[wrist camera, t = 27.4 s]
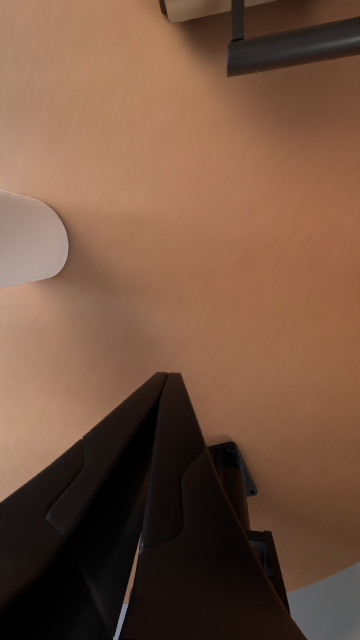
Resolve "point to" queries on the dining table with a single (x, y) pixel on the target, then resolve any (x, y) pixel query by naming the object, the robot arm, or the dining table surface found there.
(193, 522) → the robot arm
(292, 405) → the dining table surface
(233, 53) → the drawer
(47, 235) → the can
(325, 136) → the dining table surface
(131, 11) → the dining table surface
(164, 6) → the cabinet
